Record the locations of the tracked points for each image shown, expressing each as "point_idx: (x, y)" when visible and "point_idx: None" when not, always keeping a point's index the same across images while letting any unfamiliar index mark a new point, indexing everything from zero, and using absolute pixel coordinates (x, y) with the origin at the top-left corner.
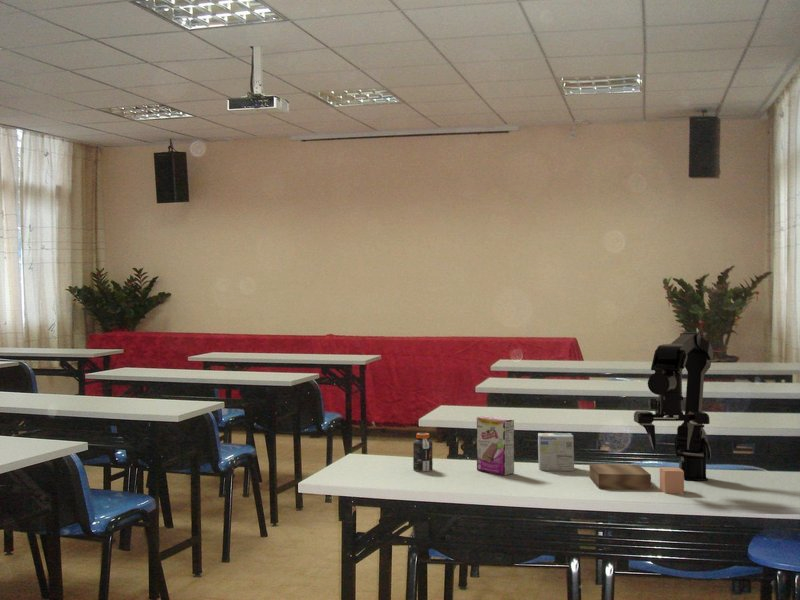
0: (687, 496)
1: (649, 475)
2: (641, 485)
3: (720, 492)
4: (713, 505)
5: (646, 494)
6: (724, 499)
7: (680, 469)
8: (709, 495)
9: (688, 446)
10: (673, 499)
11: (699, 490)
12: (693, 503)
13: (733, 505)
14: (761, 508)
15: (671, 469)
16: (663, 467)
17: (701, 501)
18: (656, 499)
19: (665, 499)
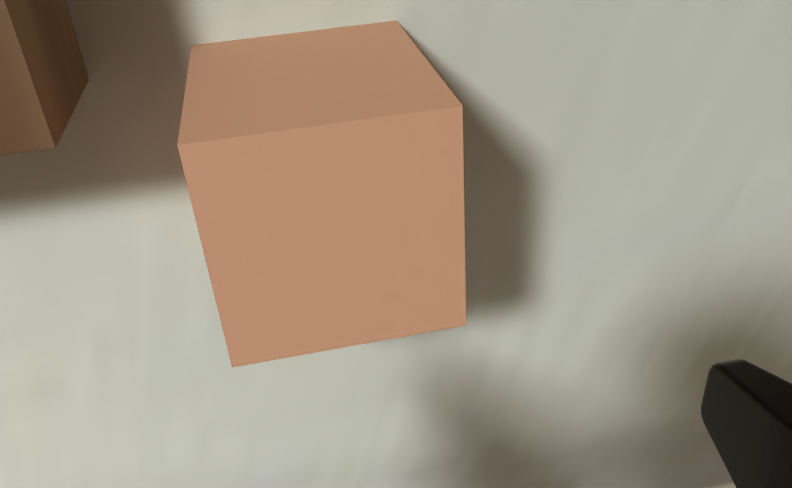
0: None
1: (37, 143)
2: None
3: (746, 87)
4: (513, 473)
5: (50, 302)
6: (655, 316)
7: (454, 237)
8: (601, 219)
9: (735, 464)
10: (278, 402)
11: (594, 35)
12: (400, 463)
13: (635, 443)
14: None
15: (334, 264)
16: (238, 146)
17: (471, 404)
18: (143, 434)
19: (215, 417)
